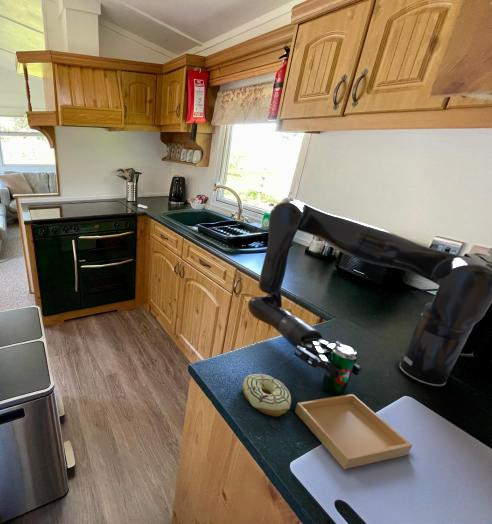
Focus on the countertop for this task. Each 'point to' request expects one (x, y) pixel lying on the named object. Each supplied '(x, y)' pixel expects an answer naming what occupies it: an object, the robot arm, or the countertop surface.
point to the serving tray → (352, 430)
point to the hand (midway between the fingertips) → (349, 373)
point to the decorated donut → (267, 394)
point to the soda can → (345, 362)
